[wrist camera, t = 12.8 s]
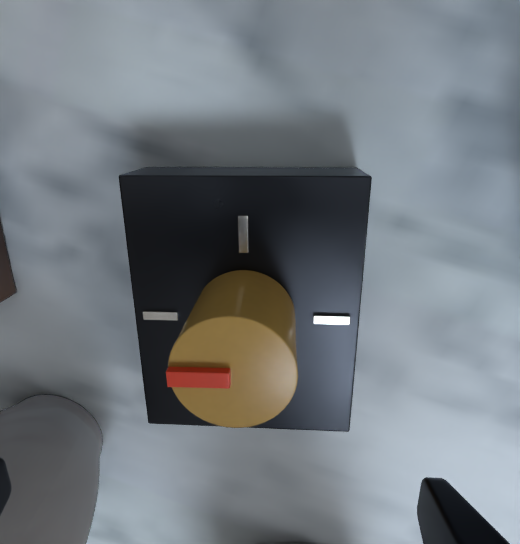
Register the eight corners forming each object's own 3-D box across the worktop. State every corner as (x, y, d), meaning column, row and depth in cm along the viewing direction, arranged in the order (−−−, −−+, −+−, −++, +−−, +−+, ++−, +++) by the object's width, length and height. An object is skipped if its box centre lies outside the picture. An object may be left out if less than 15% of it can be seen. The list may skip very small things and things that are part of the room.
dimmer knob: (296, 269, 15) (299, 322, 11) (294, 361, 17) (297, 437, 13) (191, 269, 16) (158, 319, 12) (198, 359, 17) (170, 433, 13)
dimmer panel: (340, 390, 21) (350, 435, 18) (166, 384, 21) (146, 426, 18) (358, 167, 17) (372, 176, 14) (145, 166, 17) (116, 175, 14)
